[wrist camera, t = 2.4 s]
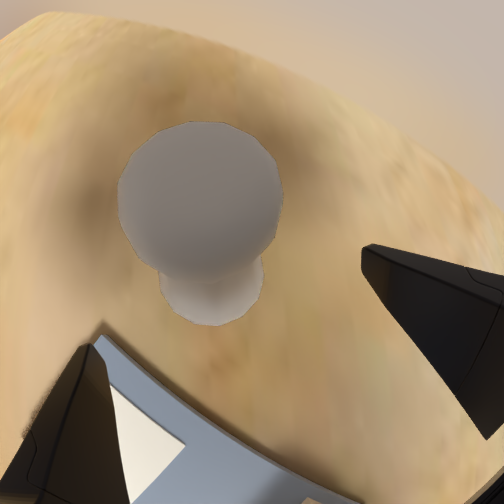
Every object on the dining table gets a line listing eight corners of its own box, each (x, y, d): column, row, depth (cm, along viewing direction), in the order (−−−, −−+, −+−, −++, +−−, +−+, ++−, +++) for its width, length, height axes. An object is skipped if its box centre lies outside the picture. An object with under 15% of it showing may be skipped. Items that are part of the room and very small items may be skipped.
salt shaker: (210, 218, 20) (203, 59, 8) (277, 276, 20) (366, 173, 7) (147, 283, 19) (40, 189, 6) (214, 347, 18) (201, 366, 6)
